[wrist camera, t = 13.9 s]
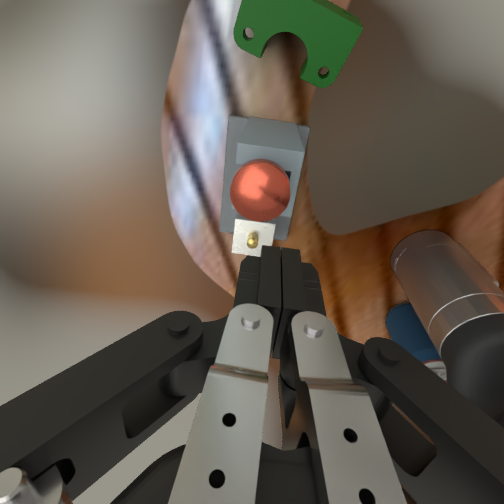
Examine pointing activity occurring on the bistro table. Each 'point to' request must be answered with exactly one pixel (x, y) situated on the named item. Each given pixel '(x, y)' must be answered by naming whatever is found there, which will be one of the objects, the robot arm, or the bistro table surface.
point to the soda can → (414, 337)
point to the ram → (260, 190)
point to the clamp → (301, 32)
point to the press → (263, 147)
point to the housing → (252, 235)
